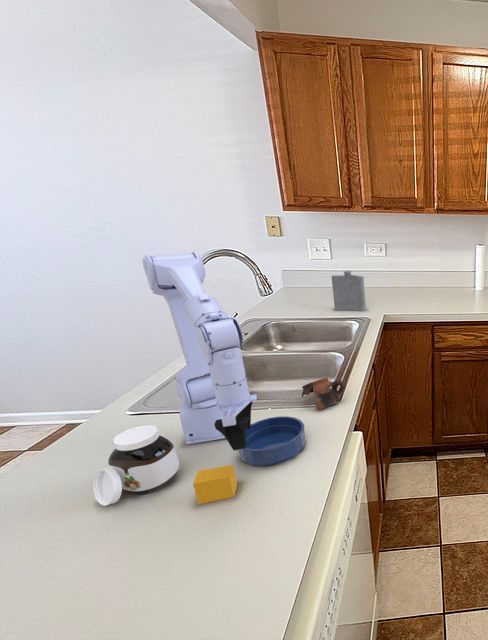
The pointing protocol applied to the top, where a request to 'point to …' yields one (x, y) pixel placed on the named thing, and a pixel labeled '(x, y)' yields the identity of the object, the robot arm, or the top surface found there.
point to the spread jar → (136, 465)
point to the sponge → (215, 484)
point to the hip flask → (348, 292)
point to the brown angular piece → (324, 392)
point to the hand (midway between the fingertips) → (242, 438)
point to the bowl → (273, 440)
